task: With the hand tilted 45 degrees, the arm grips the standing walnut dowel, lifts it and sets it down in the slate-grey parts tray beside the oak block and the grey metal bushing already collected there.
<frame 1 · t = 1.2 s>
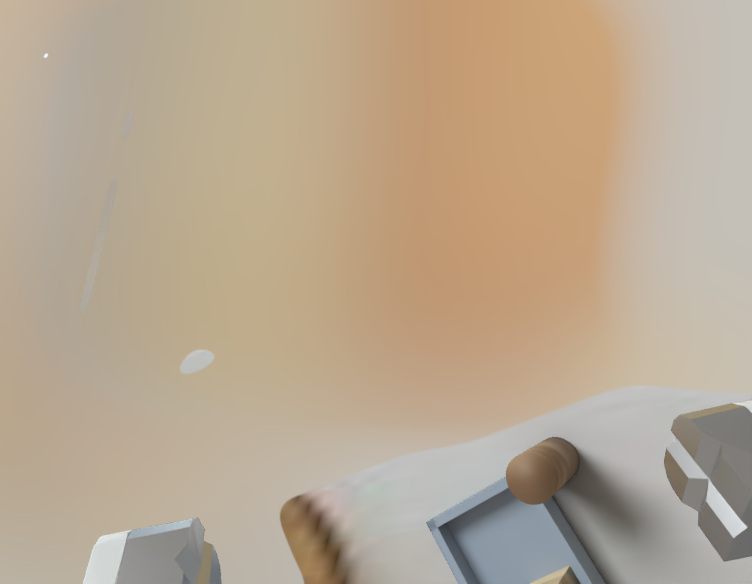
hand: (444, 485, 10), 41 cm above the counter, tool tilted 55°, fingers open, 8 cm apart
tray: (525, 563, 49), on the counter
dowel: (557, 458, 48), on the counter
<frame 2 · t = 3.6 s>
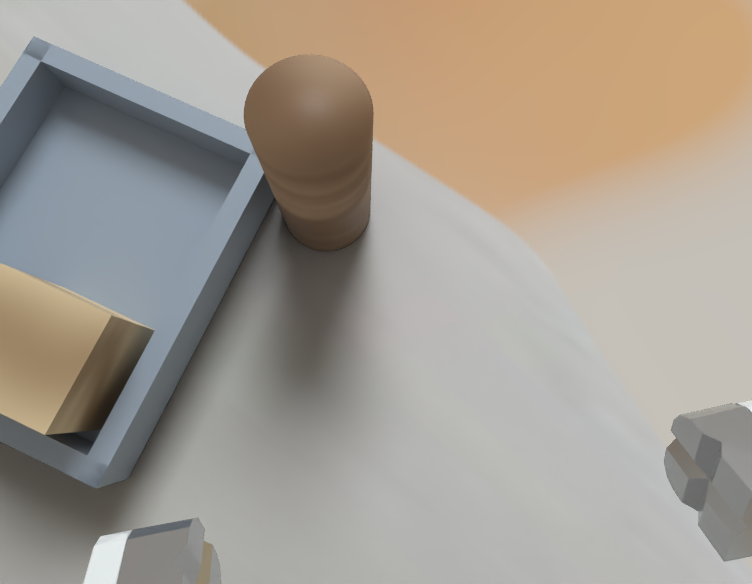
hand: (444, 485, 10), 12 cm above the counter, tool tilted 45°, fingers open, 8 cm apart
oak block: (84, 357, 21), point 1 cm above the counter, touching tray
tray: (96, 262, 23), on the counter
dowel: (327, 209, 24), on the counter
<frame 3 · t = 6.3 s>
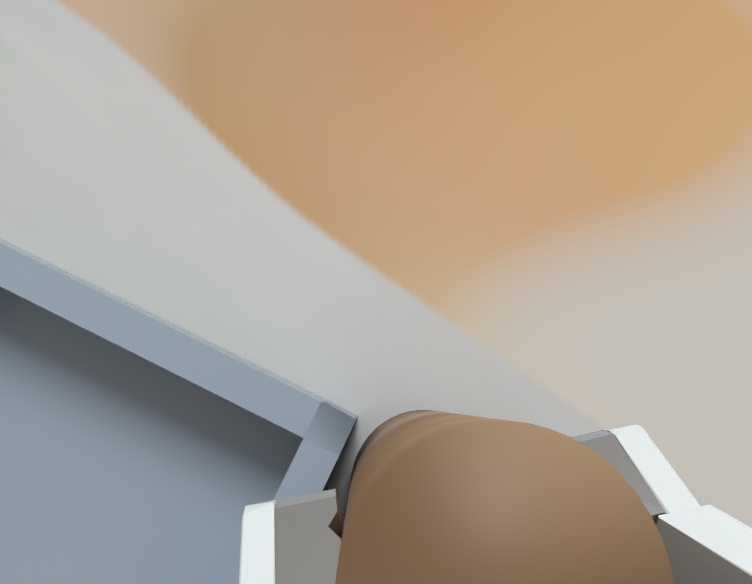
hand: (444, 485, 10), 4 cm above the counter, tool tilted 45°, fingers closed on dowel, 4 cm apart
dowel: (424, 485, 14), on the counter, touching gripper
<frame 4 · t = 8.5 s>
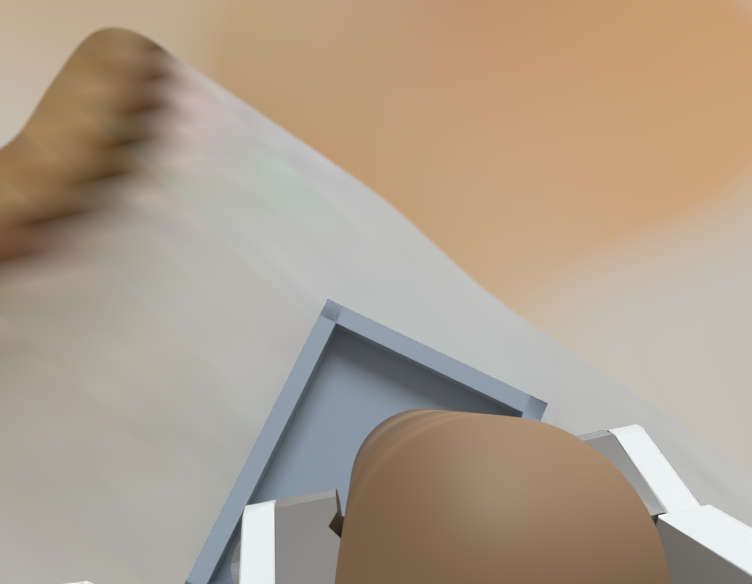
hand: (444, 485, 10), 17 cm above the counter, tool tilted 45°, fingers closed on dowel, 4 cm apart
tray: (368, 488, 26), on the counter
dowel: (424, 483, 14), point 13 cm above the counter, touching gripper
when the fingers open (7 cm above the counter, at t = 10.8 s): dowel drops 1 cm, resting on tray.
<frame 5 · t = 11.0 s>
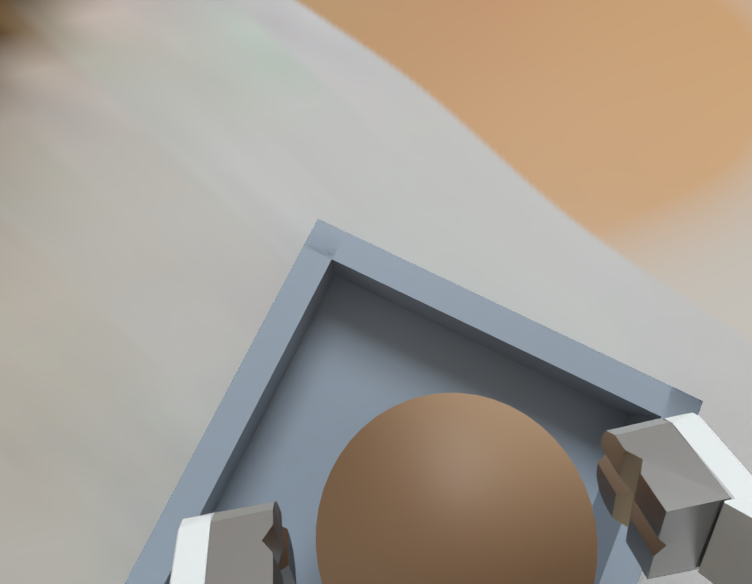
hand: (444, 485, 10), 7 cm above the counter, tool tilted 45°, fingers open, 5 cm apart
tray: (385, 542, 16), on the counter
dowel: (418, 477, 15), point 1 cm above the counter, touching tray
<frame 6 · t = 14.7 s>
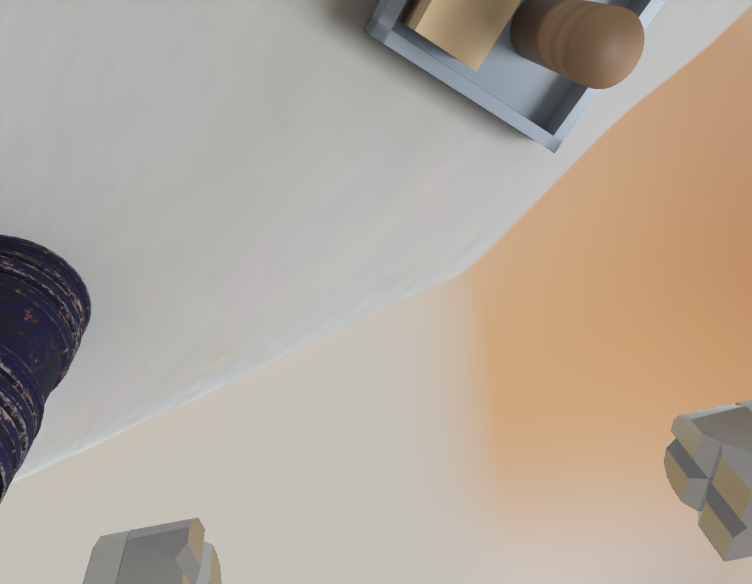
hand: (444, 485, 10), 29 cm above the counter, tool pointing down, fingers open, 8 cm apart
oak block: (448, 7, 32), point 1 cm above the counter, touching tray
storage jar: (14, 298, 38), on the counter
tray: (508, 7, 33), on the counter
dowel: (539, 27, 33), point 1 cm above the counter, touching tray
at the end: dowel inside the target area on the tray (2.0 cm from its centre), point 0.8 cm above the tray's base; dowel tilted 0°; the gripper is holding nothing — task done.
